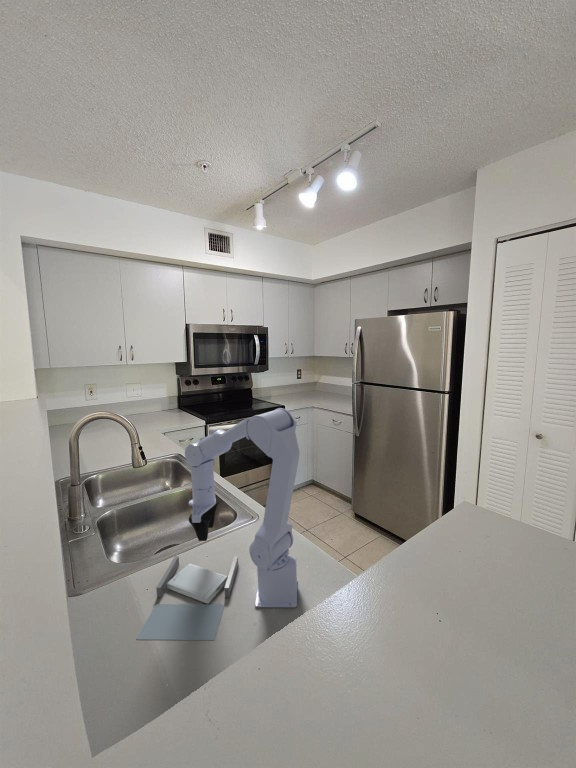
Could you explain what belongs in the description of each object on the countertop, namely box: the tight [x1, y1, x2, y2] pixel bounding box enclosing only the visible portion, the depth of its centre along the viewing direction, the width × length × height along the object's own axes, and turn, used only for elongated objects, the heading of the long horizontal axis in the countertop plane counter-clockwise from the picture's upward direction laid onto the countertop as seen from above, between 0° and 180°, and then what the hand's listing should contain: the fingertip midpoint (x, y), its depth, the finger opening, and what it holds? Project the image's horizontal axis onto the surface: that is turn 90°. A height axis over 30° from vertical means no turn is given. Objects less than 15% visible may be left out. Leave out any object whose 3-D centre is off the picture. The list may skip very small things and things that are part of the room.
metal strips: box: [155, 555, 239, 599], centre depth 82 cm, size 17×12×2 cm
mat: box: [136, 603, 225, 641], centre depth 70 cm, size 16×9×1 cm, turn 88°
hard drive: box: [166, 563, 228, 604], centre depth 80 cm, size 2×8×12 cm
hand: (206, 533), depth 88 cm, fingers open, 5 cm apart
